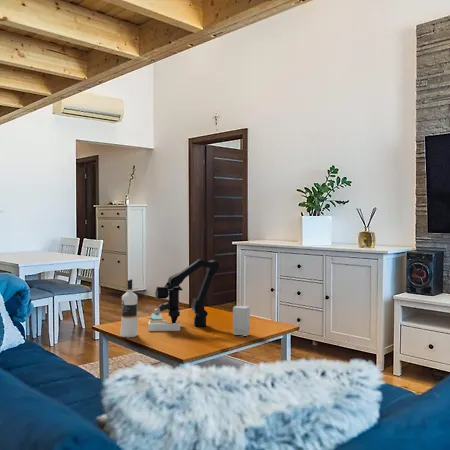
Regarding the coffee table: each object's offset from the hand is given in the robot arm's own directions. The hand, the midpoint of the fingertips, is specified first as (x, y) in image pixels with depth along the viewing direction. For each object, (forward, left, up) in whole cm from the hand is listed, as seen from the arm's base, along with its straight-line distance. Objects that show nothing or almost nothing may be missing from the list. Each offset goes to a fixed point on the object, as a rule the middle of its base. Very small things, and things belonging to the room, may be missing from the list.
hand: (173, 325), depth 268 cm
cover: (+10, -6, +3) cm, 12 cm away
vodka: (+24, +16, -2) cm, 29 cm away
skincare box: (-36, +19, -2) cm, 41 cm away
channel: (+6, +3, -1) cm, 7 cm away
